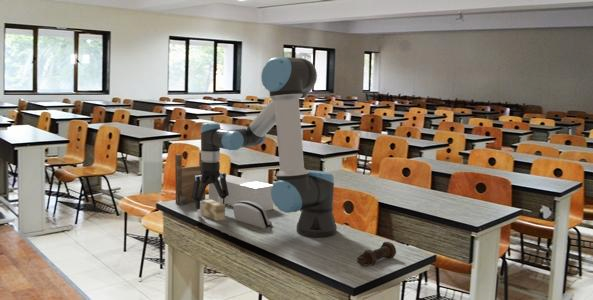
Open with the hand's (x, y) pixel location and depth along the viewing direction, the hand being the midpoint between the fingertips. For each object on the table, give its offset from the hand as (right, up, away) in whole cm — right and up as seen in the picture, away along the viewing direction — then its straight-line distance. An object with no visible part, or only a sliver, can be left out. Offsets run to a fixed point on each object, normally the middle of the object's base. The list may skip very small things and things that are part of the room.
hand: (210, 214), depth 224 cm
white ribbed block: (+10, +2, +21) cm, 23 cm away
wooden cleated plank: (-12, +3, +22) cm, 25 cm away
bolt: (+61, -10, -49) cm, 79 cm away
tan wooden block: (+1, -1, -2) cm, 2 cm away
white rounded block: (+18, -3, -9) cm, 20 cm away
